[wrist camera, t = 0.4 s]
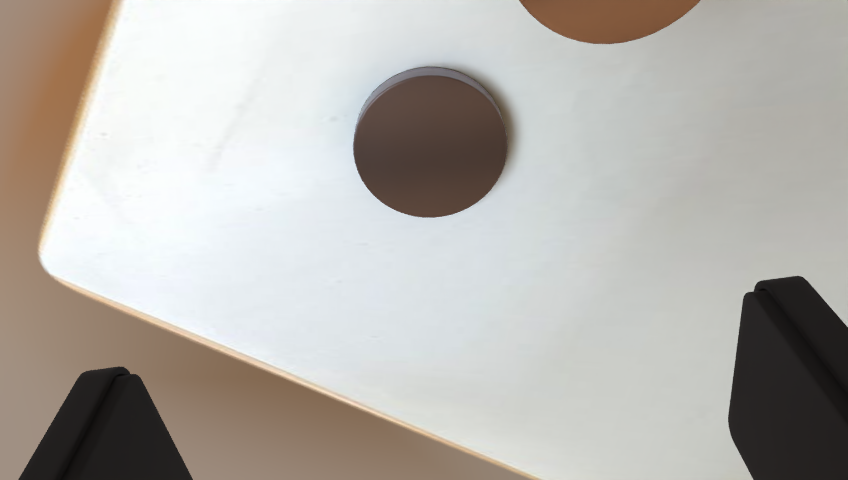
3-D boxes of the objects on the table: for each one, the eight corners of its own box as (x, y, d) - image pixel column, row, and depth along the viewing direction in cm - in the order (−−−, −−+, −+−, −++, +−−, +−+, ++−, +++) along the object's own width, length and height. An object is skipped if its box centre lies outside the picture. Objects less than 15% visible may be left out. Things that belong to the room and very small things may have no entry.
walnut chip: (339, 81, 36) (337, 90, 35) (495, 53, 36) (498, 62, 34) (372, 215, 41) (371, 228, 39) (511, 193, 40) (515, 205, 39)
